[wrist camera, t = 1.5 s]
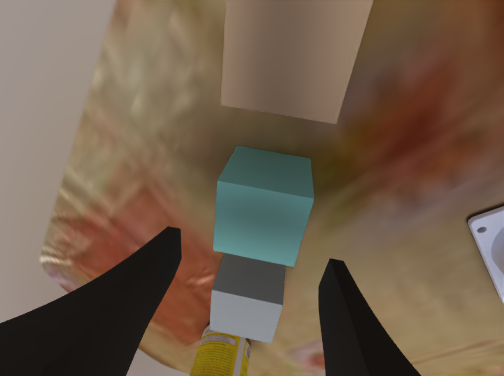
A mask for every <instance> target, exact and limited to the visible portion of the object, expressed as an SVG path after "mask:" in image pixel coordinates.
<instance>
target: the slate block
mask: <svg viewBox="0 0 504 376" xmlns="http://www.w3.org/2000/svg"><path fill="white" fill-rule="evenodd" d="M284 279H285V265H282V264H277V263H272V262H267V261H263V260H258V259H253V258H248V257H243V256H238V255H233V254H229V253H224V256H223V259H222V261H221V264H220V267H219V270H218V273H217V276H216V279H215V282H214V285H213V288H212V295H211V313H210V330H214V331H218V332H223V333H227V334H231V335H236V336H240V337H245V338H249V339H253V340H258V341H262V342H266V343H272V340H273V337H274V333H275V330H276V327H277V323H278V320H279V317H280V313H281V310H282V307H283V296H284Z"/></svg>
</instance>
